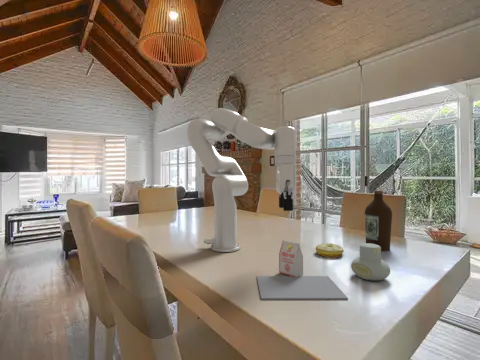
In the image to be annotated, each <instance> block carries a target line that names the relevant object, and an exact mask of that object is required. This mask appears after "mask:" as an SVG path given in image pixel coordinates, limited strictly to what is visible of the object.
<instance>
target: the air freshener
mask: <svg viewBox="0 0 480 360" xmlns="http://www.w3.org/2000/svg"><path fill="white" fill-rule="evenodd" d="M350 269H351V271H352V272H353V273H354V274H355V275H356V276H357V277H359V278H360V279H362V280H364V279H365V281H369V280H370V282H371V281H374V282H377V281H382V280H385V279H387V278H388V277H389V276H390V274H391V268H390V266H389V264H388V263H387V262H386V261H385V260H383V259H382V251H381V247H380V246H379V245H376V244H371V243H366V242H365V243H361V244H360V245H359V256H357V257H356V258H354V259H353V260H352V261H351V263H350Z"/></svg>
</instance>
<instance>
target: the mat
mask: <svg viewBox="0 0 480 360" xmlns="http://www.w3.org/2000/svg"><path fill="white" fill-rule="evenodd" d="M256 280H257V285H258V290H259V295H260V300H263V301H264V300H265V301H268V300H269V301H270V300H271V301H272V300H275V301H276V300H286V301H287V300H296V301H297V300H298V301H299V300H301V301H302V300H308V301H309V300H315V301H316V300H318V301H319V300H327V301H329V300H332V301H333V300H337V301H340V300H348V299H349V297H348V296H347V295H346V294H345V293H344V292H343V291H342V290H341V289H340V288H339V286H337V284H336V283H335V282H334V281H333V280H332V279H331V278H330V276H329V275H302V276H299V277H292V276H289V275H257V276H256Z"/></svg>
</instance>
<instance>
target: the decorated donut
mask: <svg viewBox="0 0 480 360" xmlns="http://www.w3.org/2000/svg"><path fill="white" fill-rule="evenodd" d="M315 251H316V253H317V254H318V255H319V256H321V257H326V258H339V257H341V256H342V255H343V253H344V251H345V249H344V248H343V247H342V246H341V245H338V244H335V243H331V242H330V243H328V242H327V243H320V244H317V245H316V246H315Z"/></svg>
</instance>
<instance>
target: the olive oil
mask: <svg viewBox="0 0 480 360" xmlns="http://www.w3.org/2000/svg"><path fill="white" fill-rule="evenodd" d="M373 192H374V193H373V199H372V201H371V202H370V203H369V204H367V205H366V207H365V210H364V224H365V225H364V226H365V243H371V244H376V245H379V246H380V247H381V252H385V251H390V249H391V240H392V239H391V236H392V233H391V232H392V220H393V212H392V209H391V207H390V206H389V204H388V203H387V202H385V200H384V193H383V190H374V191H373Z"/></svg>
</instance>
